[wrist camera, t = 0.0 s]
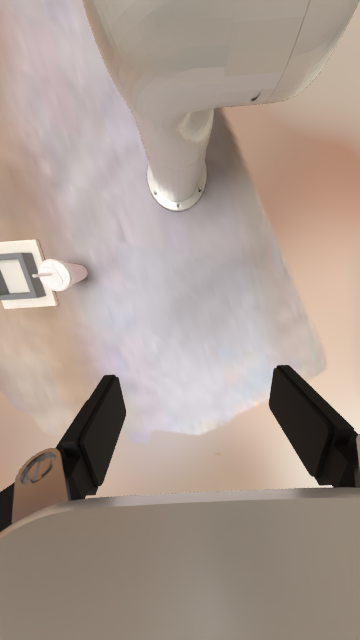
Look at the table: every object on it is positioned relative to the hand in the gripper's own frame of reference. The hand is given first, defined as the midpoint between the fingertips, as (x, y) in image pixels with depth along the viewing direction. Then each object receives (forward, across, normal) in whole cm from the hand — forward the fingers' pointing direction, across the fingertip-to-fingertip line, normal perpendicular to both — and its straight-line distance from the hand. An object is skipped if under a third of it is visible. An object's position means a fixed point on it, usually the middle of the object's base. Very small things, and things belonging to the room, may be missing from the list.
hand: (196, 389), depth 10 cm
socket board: (+37, +41, -6) cm, 55 cm away
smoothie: (+37, +26, -6) cm, 46 cm away
